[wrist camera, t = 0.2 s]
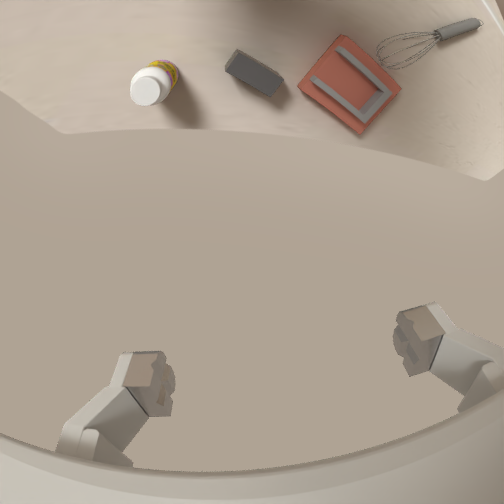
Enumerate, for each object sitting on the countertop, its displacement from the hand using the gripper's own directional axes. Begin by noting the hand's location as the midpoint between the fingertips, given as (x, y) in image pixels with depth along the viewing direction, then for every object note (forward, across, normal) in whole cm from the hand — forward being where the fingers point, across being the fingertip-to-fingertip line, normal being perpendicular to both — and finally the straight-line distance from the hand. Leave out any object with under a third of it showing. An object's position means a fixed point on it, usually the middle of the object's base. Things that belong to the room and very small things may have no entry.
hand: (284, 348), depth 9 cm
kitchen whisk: (+47, -42, -23) cm, 67 cm away
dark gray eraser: (+50, -4, -15) cm, 52 cm away
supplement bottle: (+49, +13, -17) cm, 53 cm away
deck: (+51, -22, -10) cm, 56 cm away
